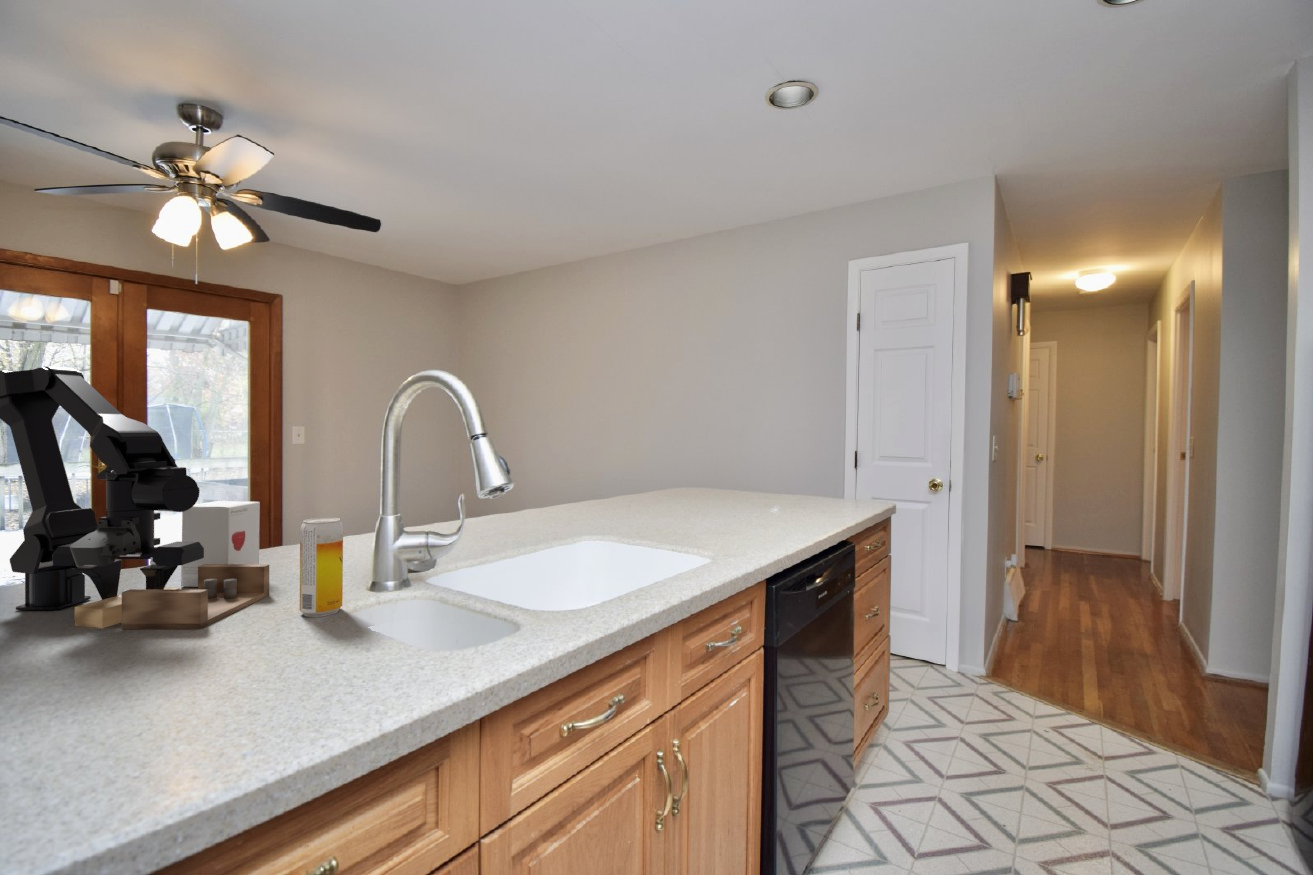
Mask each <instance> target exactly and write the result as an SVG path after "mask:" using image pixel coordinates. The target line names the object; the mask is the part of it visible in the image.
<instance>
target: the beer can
mask: <svg viewBox="0 0 1313 875" xmlns="http://www.w3.org/2000/svg"><path fill="white" fill-rule="evenodd" d="M299 530H300V531H299V532H300V533H299V535H300V536H299V611H300V613H302V614H303V616H305V617H308V618H309V617H310V618H320V617H326V616H327V617H328V616H332V615H334V614H336V613H338V612H339V610H340V609H341V607H343V594H344V593H343V589H344V588H343V587H344V586H343V581H344V580H343V578H344V576H343V571H344V569H343V568H344V564H343V563H344V561H343V560H344V525H343V523H342V521H341V518H340V517H329V516H328V517H314V518H308V519H307V518H306V519H304V520H302V524H301V526H300V529H299Z"/></svg>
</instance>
